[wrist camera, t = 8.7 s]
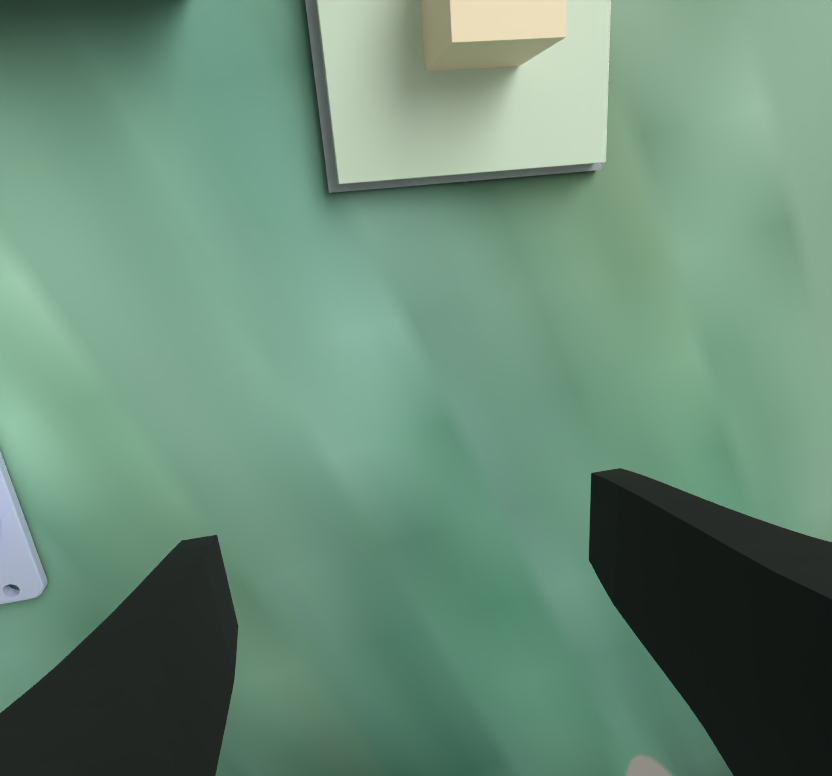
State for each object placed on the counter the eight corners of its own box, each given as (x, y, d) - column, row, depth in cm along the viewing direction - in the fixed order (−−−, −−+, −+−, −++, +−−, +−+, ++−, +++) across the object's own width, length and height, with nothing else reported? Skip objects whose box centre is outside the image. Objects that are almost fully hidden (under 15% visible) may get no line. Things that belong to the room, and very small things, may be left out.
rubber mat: (328, 192, 18) (329, 192, 17) (283, -172, 15) (283, -181, 14) (596, 170, 19) (602, 169, 19) (605, -169, 16) (612, -179, 16)
